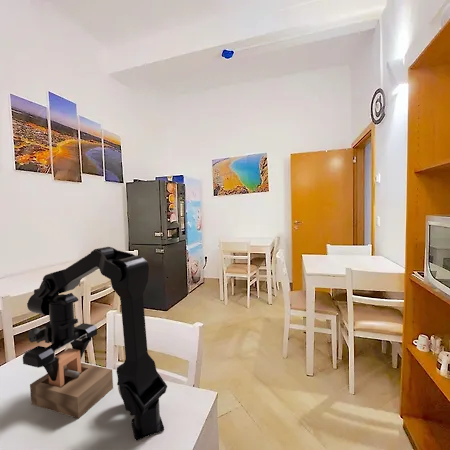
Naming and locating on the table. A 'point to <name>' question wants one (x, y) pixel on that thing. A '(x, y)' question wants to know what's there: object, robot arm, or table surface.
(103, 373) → the wooden divided tray
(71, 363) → the staple
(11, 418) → the table surface
